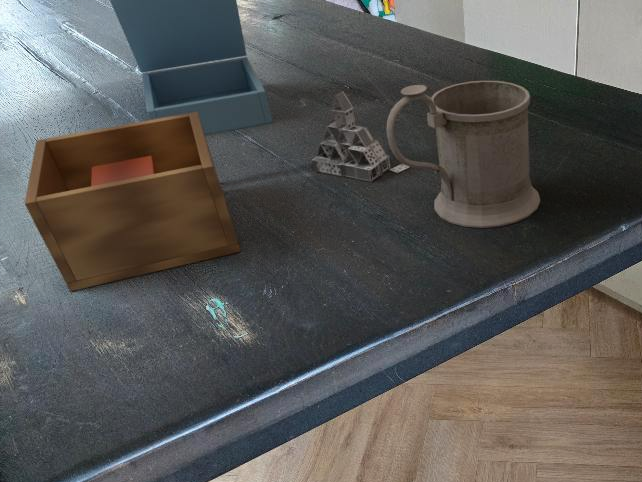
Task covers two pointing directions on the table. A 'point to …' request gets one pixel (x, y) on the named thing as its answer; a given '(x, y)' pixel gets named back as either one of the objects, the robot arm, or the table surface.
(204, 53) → the lid
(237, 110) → the box
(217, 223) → the open wooden crate
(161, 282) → the table surface
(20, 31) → the table surface
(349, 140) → the house of cards
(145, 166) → the block
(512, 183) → the mug
